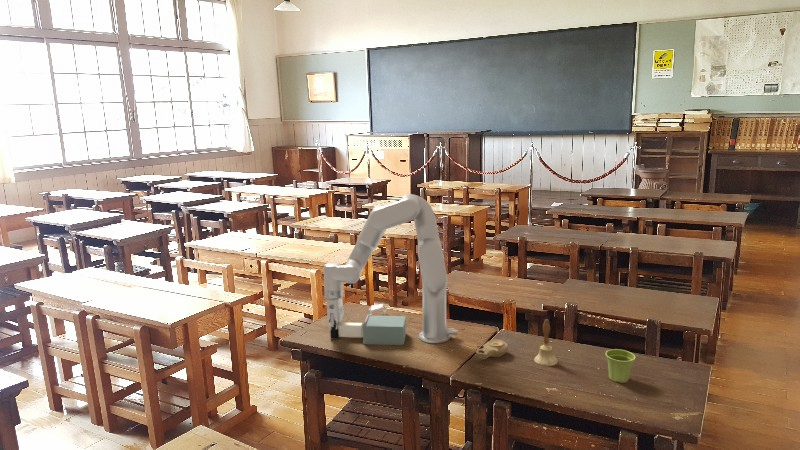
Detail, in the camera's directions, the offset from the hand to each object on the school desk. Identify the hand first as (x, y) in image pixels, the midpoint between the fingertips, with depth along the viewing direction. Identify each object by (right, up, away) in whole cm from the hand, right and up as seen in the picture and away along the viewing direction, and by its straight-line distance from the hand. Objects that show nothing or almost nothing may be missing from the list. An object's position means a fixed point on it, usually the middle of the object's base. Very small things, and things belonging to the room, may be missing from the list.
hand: (335, 336), depth 226 cm
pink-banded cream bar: (+4, 0, 0) cm, 5 cm away
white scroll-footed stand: (+15, +4, +23) cm, 28 cm away
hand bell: (+80, -4, -24) cm, 83 cm away
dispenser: (+20, -1, -2) cm, 20 cm away
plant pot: (+100, -7, -39) cm, 108 cm away
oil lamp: (+61, -4, -20) cm, 64 cm away
